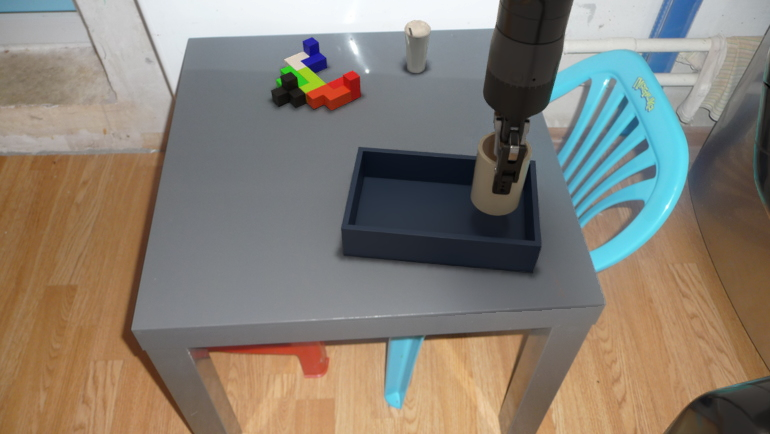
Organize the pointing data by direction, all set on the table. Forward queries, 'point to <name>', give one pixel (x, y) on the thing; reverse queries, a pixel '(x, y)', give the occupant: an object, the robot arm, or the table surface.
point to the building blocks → (313, 81)
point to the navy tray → (435, 213)
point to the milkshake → (416, 45)
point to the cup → (485, 177)
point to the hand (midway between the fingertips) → (500, 171)
